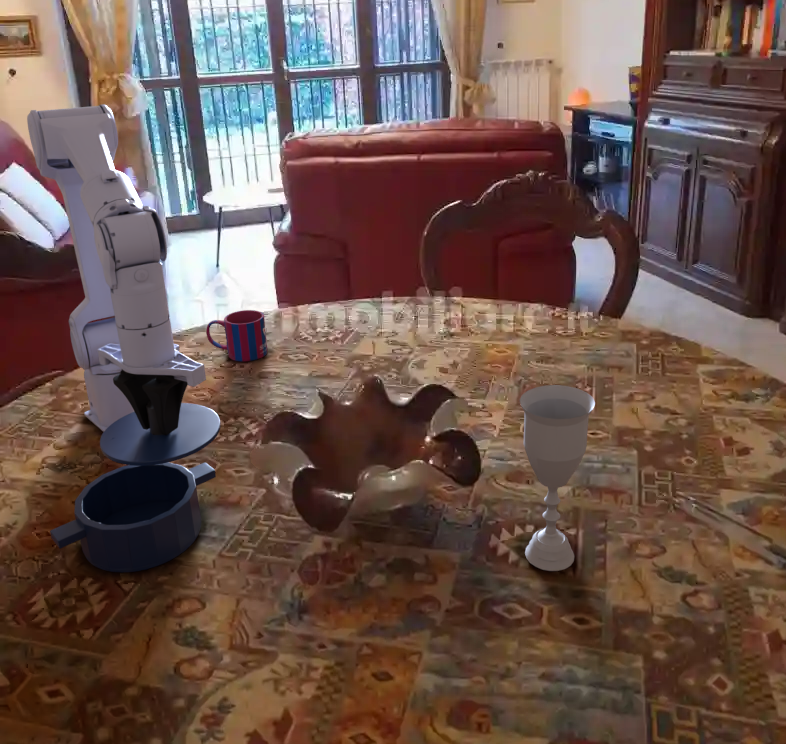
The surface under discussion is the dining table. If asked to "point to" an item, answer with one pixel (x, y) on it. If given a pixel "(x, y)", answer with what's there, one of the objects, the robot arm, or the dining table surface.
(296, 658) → the dining table surface
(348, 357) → the dining table surface
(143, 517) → the pot
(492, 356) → the dining table surface
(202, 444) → the lid
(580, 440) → the chalice
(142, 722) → the dining table surface
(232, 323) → the mug
